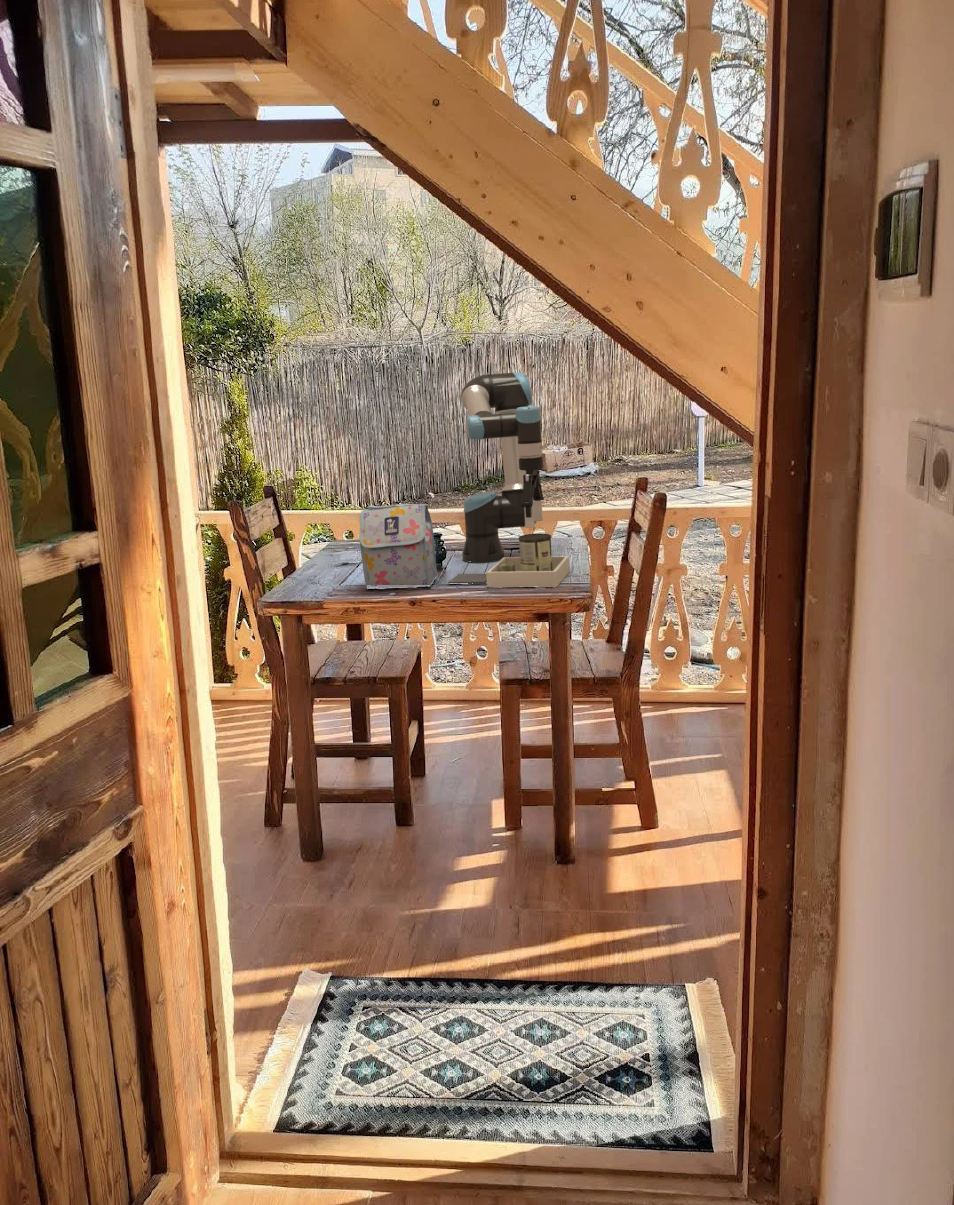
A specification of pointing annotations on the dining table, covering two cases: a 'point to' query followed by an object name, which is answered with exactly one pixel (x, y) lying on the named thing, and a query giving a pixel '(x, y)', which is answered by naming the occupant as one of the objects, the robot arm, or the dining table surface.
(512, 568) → the khaki block
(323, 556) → the dining table surface
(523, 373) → the robot arm
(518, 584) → the open crate
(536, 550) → the coffee can
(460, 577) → the charcoal mat
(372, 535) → the lunch bag
